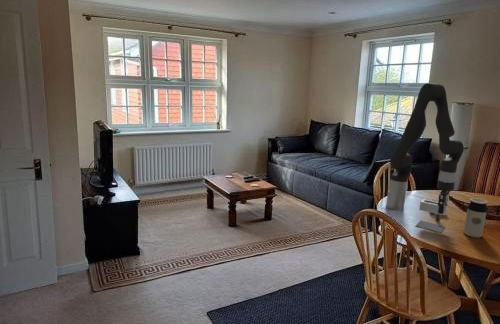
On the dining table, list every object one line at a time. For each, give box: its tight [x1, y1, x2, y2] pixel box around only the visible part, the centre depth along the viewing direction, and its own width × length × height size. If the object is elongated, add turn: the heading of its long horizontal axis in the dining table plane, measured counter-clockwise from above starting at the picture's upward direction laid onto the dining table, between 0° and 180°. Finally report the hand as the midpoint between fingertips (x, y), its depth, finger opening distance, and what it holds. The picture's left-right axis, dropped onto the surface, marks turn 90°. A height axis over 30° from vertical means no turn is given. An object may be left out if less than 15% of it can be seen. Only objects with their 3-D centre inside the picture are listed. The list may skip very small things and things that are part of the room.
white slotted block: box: [419, 198, 449, 216], centre depth 187 cm, size 12×6×4 cm, turn 52°
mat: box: [415, 219, 446, 234], centre depth 189 cm, size 12×10×1 cm
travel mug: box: [463, 197, 489, 238], centre depth 179 cm, size 8×8×18 cm
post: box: [435, 213, 441, 222], centre depth 197 cm, size 2×2×9 cm
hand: (441, 211), depth 185 cm, fingers closed on white slotted block, 5 cm apart
